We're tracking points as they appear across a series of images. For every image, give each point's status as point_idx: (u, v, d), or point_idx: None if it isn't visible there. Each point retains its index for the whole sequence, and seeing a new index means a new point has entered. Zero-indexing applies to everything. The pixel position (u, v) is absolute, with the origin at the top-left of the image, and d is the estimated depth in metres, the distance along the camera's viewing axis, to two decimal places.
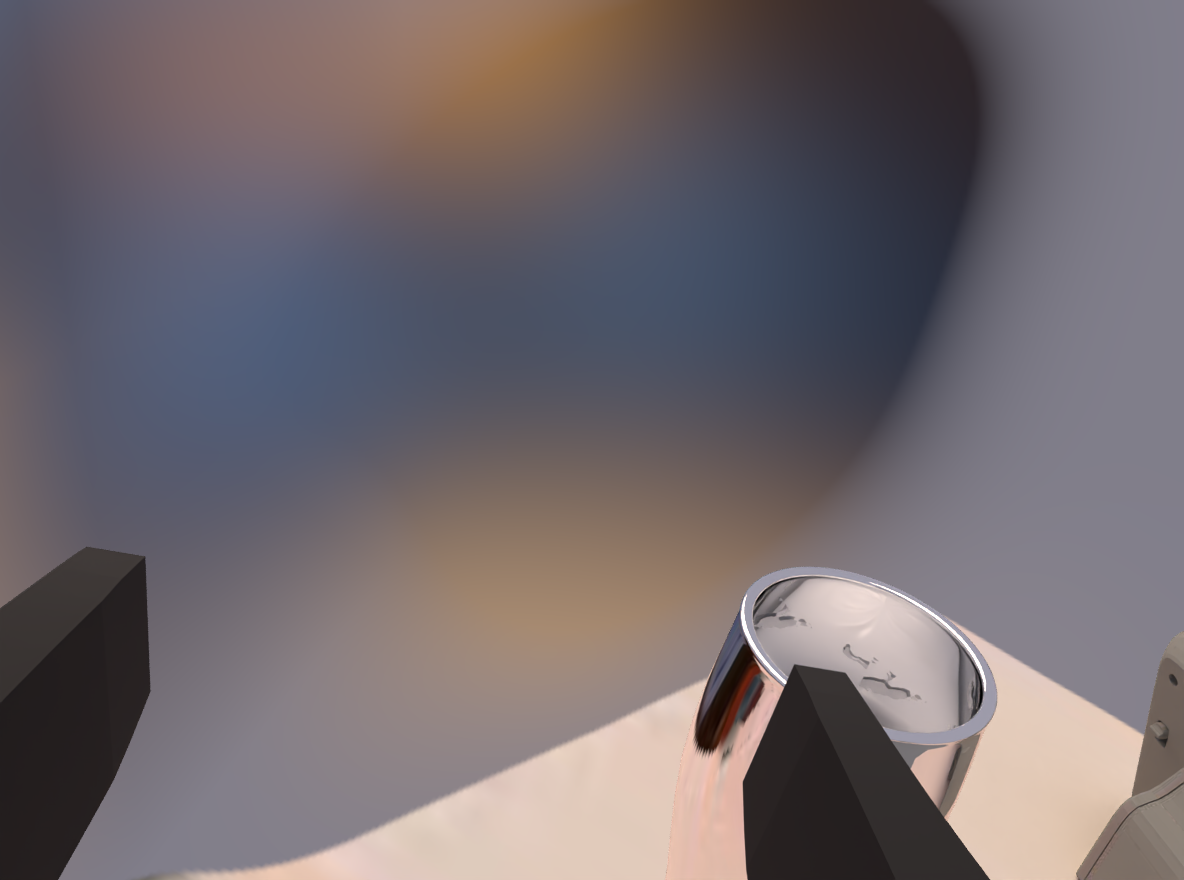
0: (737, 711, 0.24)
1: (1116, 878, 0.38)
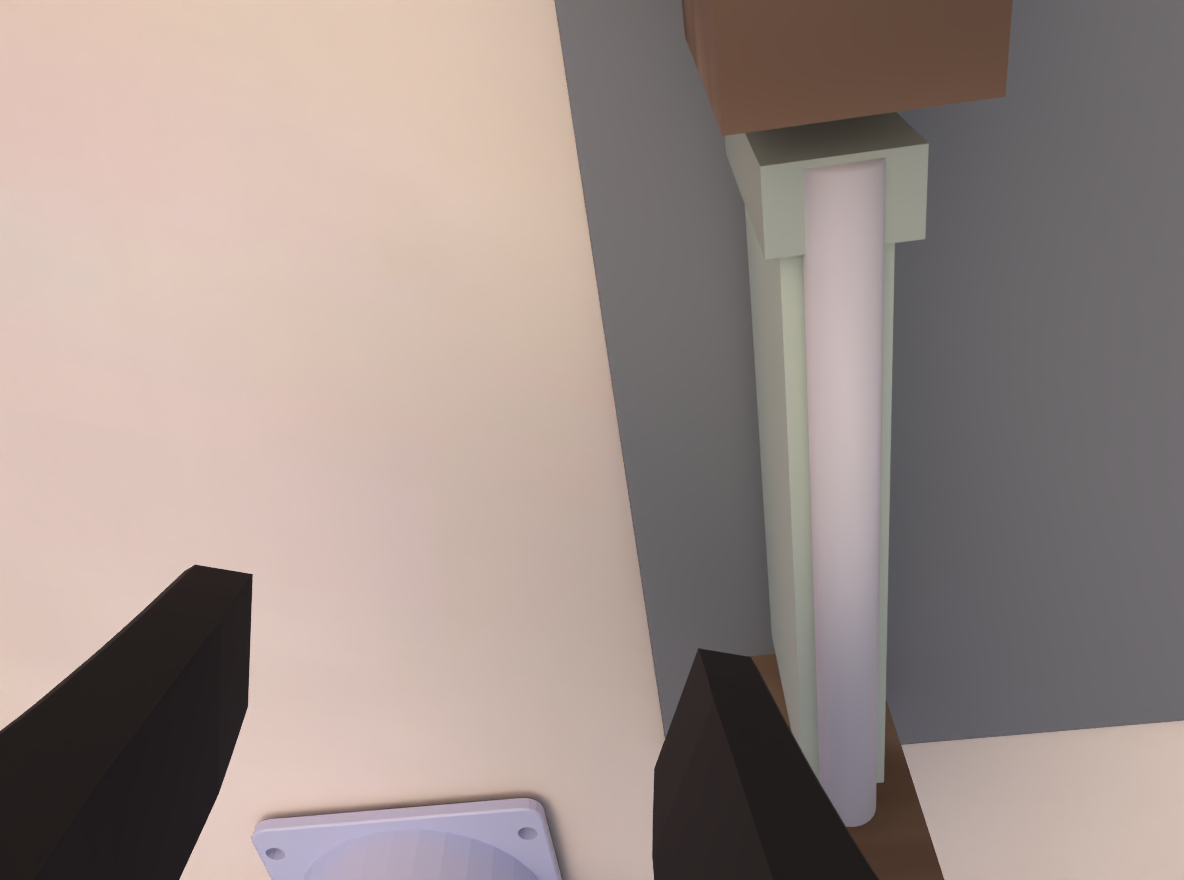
0: None
1: None
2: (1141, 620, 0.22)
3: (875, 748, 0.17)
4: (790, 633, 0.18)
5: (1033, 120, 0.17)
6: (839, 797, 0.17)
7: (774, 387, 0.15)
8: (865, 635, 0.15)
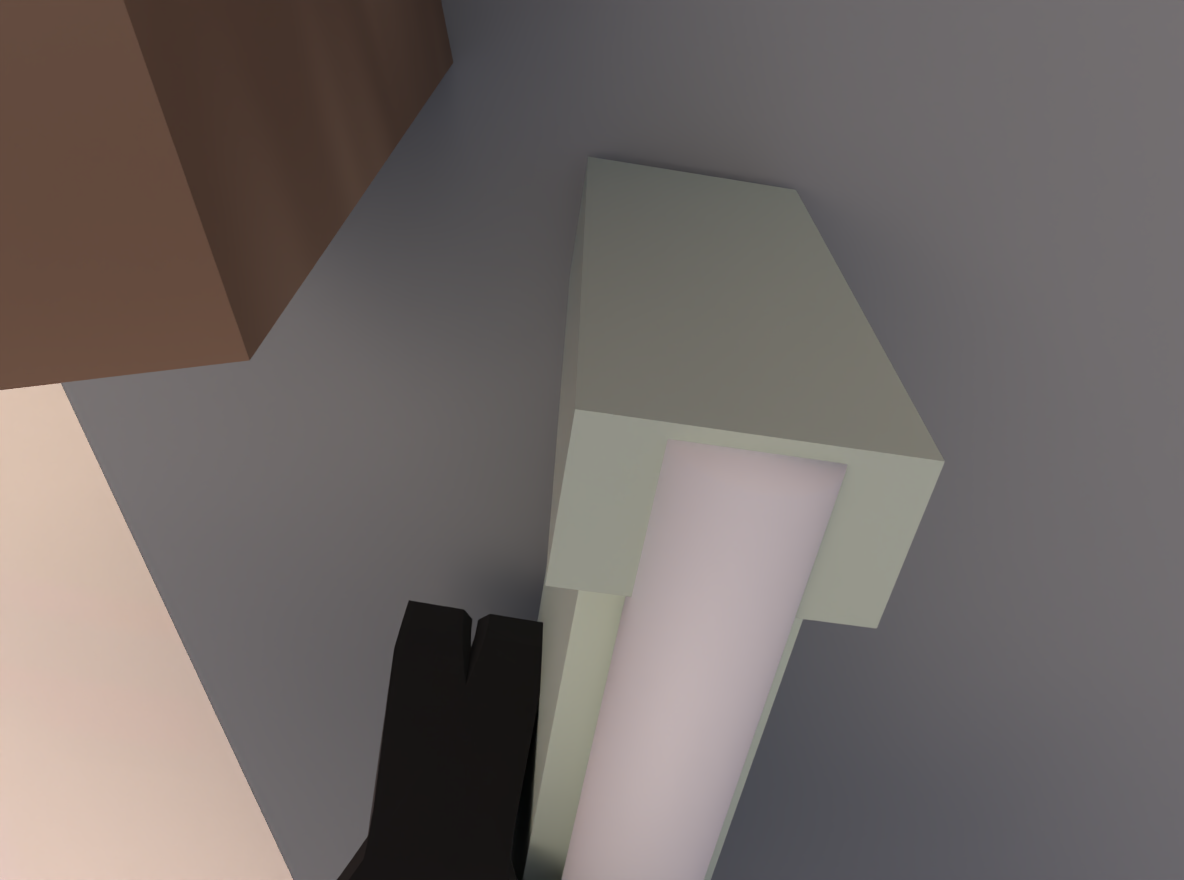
0: None
1: None
2: None
3: None
4: None
5: None
6: None
7: (540, 709, 0.09)
8: None
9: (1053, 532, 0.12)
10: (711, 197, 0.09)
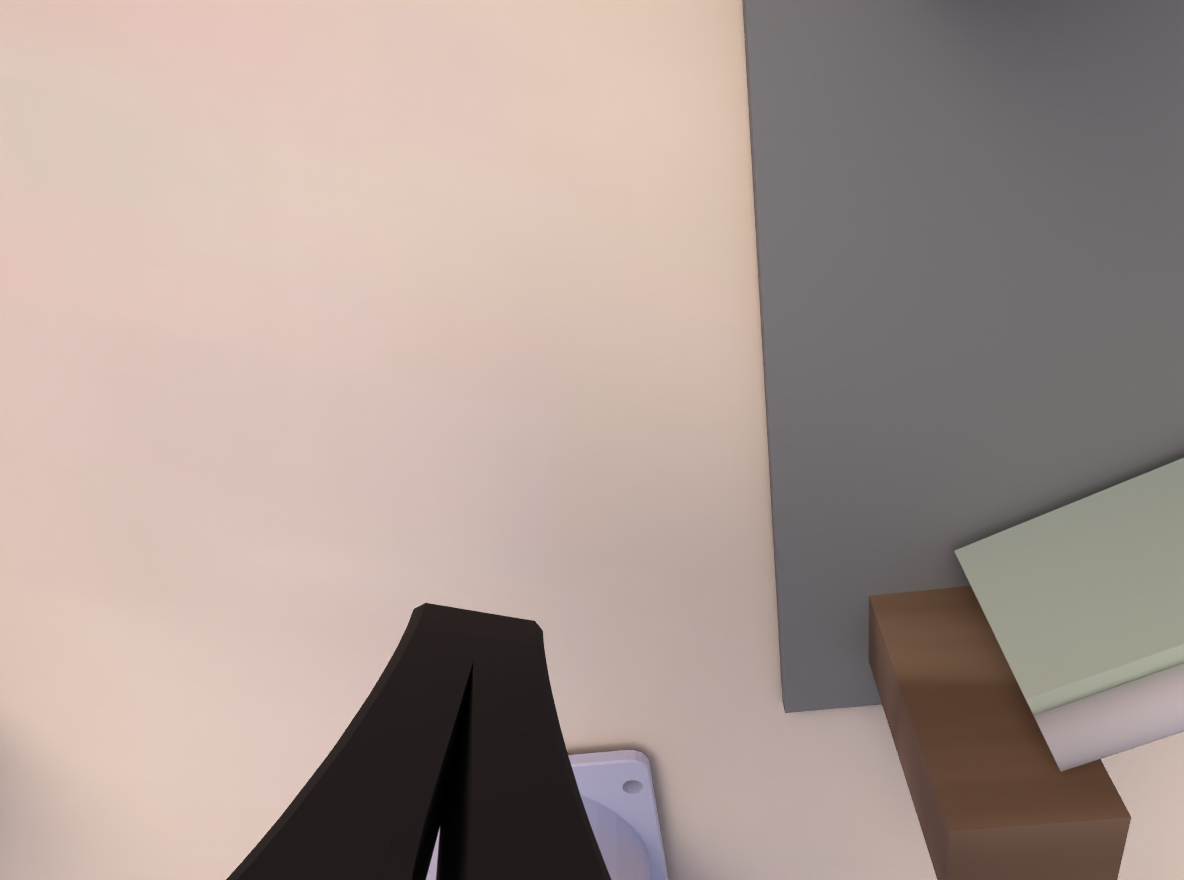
0: None
1: None
2: None
3: None
4: None
5: None
6: (1099, 740, 0.17)
7: None
8: None
9: None
10: None
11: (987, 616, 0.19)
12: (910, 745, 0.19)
